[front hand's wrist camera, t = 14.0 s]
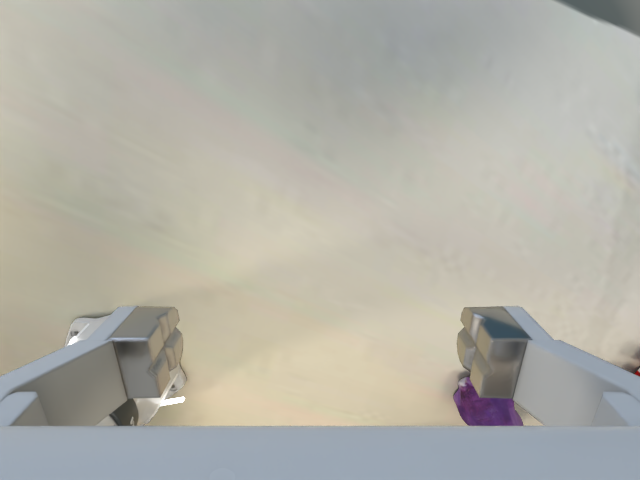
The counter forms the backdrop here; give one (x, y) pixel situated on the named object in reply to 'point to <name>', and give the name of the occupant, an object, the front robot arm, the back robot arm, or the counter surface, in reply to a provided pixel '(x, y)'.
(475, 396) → the figurine
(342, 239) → the counter surface
